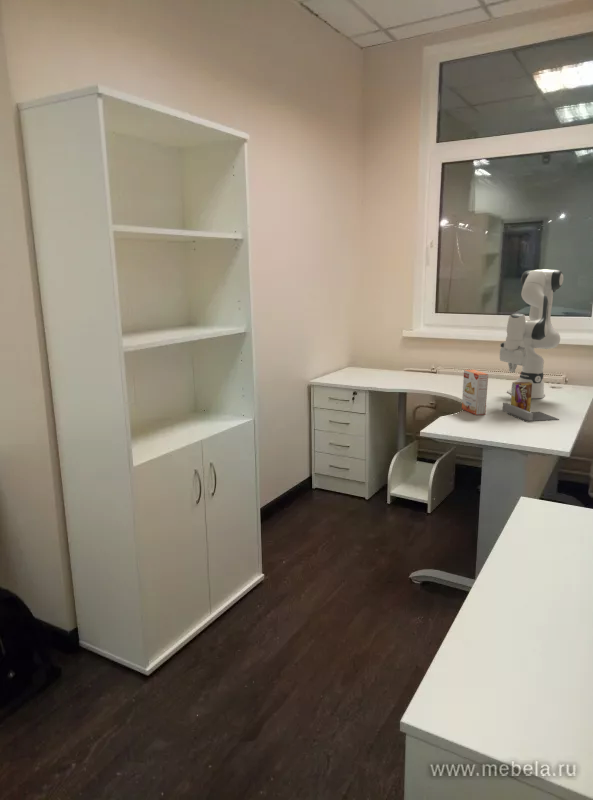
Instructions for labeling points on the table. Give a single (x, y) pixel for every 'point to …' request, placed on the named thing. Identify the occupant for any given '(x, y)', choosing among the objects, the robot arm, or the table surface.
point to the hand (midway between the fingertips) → (512, 371)
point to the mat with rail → (526, 414)
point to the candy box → (521, 395)
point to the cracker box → (474, 392)
